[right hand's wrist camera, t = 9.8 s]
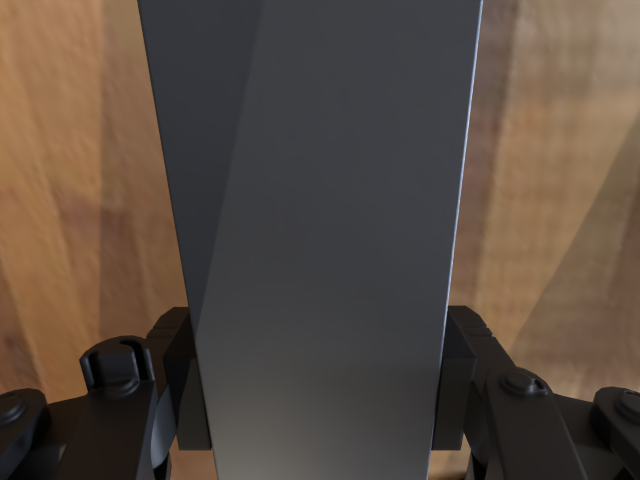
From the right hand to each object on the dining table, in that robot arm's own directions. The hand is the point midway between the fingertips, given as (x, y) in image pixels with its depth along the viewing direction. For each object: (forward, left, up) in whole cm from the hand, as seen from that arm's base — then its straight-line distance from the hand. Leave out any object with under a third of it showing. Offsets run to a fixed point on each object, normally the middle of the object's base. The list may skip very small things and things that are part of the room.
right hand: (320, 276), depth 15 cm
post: (+8, -24, -1) cm, 26 cm away
